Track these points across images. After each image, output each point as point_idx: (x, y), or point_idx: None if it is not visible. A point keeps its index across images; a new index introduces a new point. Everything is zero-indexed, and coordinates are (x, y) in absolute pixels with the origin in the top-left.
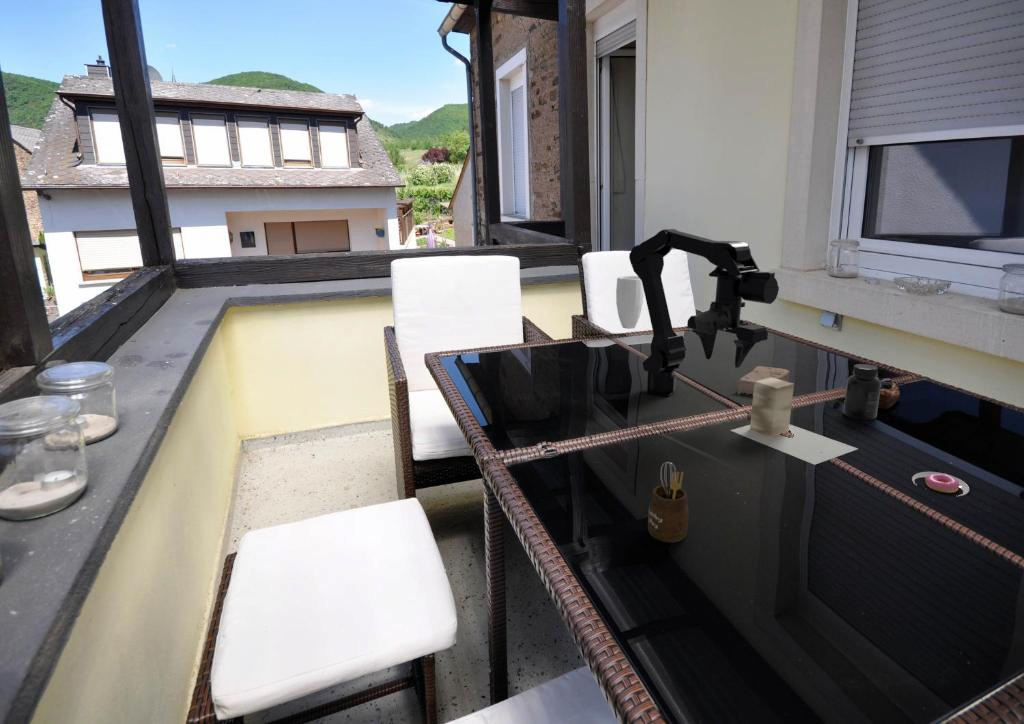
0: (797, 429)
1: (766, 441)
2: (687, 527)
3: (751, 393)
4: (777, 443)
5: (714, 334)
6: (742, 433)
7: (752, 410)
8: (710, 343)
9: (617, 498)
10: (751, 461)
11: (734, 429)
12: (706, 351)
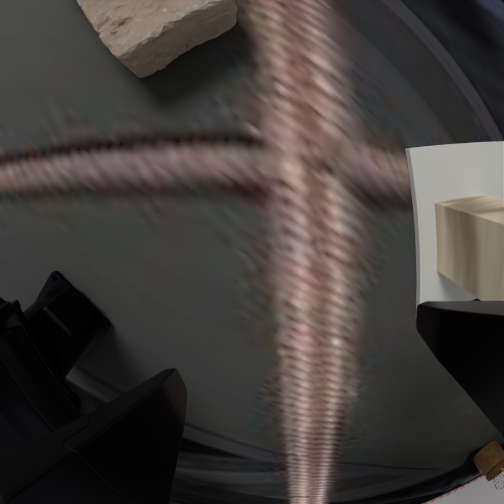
0: (478, 158)
1: None
2: (499, 445)
3: (183, 46)
4: None
5: (74, 496)
6: None
7: (470, 291)
8: (144, 463)
9: (433, 477)
10: None
11: None
12: (178, 440)
